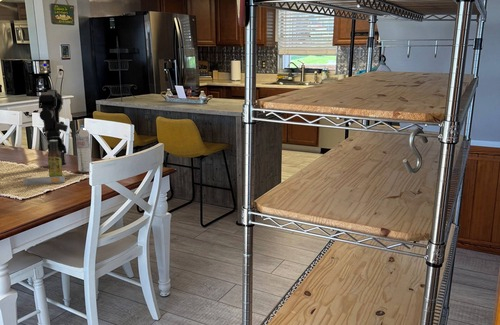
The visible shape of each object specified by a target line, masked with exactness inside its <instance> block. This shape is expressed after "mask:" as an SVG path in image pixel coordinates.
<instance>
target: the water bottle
mask: <svg viewBox="0 0 500 325" xmlns="http://www.w3.org/2000/svg"><path fill="white" fill-rule="evenodd" d="M84 126H85V125H83V124H80V125H79V128H78V129H77V130H76V132H75V142H76V156H77V166H78V168H77V169H78V172H79V173H90V172H89V163H90V162H91V163H92V154H91V144H90V143H91V142H90V132H89V131H88V130H87V129H86V128H85V127H84Z"/></svg>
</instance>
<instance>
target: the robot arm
mask: <svg viewBox="0 0 500 325" xmlns="http://www.w3.org/2000/svg"><path fill="white" fill-rule="evenodd" d="M63 100H64V99H63V96H62V95H61V94H60V93H58V90H56V89H48V90H46V92H45V93H44V94H43V93H42V94H39V97H38V109H41V111H40V112H39V118H40V119H41V120H42V122H43V127H42V130H41V131H42V134H43V135H44V138H45V140H46V141H47V143H48V144H47V151H48V152H47V153H49V151H50V144H49V141H50V140H58V150H59V151H60V153H61V160H62V166H63V165H66V164H67V162H66V160H65V159H66V158H65V154H67V153H68V152H67V148H66V145H65V143H64V141H63V139H62V138H61V131H63V132H65V133H66V132H67V130H68V127H69V126H68V124H65V122H64V121H60V112H61V111H62V110H63V106H64V101H63Z"/></svg>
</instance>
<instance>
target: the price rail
mask: <svg viewBox="0 0 500 325" xmlns="http://www.w3.org/2000/svg"><path fill="white" fill-rule="evenodd" d="M64 177H65V175H62V176H55V177H50V176H43V177H42V176H41V177H28V178H23V186H35V185H36V186H37V185H48V184H60V183H61V184H62V183H63V184H64V183H65V182H66V179H65V180H64Z"/></svg>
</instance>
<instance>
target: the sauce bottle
mask: <svg viewBox="0 0 500 325" xmlns="http://www.w3.org/2000/svg"><path fill="white" fill-rule="evenodd" d="M48 144H50V151H49V152H47V164H48V177H55V176H63V165H62V160H61V153H60V151H59V150H58V140H50V141H49V143H48Z"/></svg>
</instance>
